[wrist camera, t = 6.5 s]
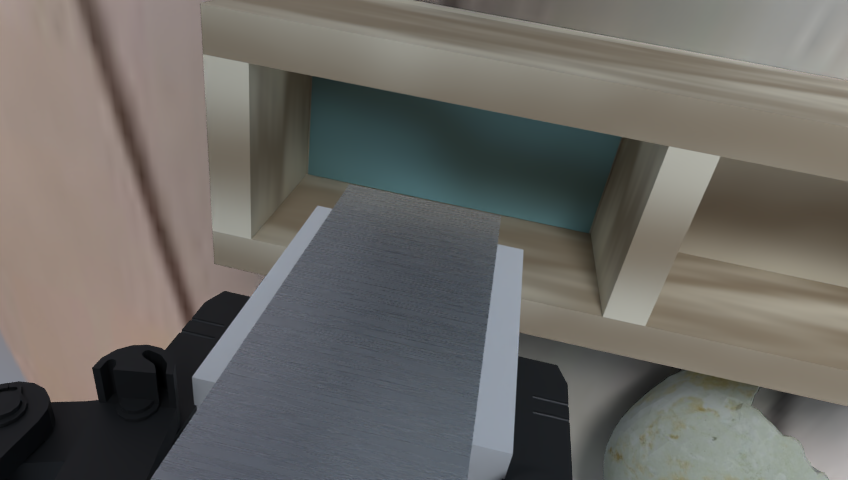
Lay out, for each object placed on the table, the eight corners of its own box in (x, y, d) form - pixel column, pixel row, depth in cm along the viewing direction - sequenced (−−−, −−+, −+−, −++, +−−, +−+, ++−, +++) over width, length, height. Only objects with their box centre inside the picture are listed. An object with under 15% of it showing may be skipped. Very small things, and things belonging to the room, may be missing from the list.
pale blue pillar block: (349, 184, 15) (40, 642, 6) (501, 215, 15) (432, 752, 6) (334, 355, 18) (119, 832, 9) (460, 384, 18) (371, 909, 9)
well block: (286, -24, 24) (200, 3, 18) (1091, 125, 21) (1305, 214, 15) (282, 187, 28) (214, 263, 22) (935, 326, 26) (1051, 452, 20)
